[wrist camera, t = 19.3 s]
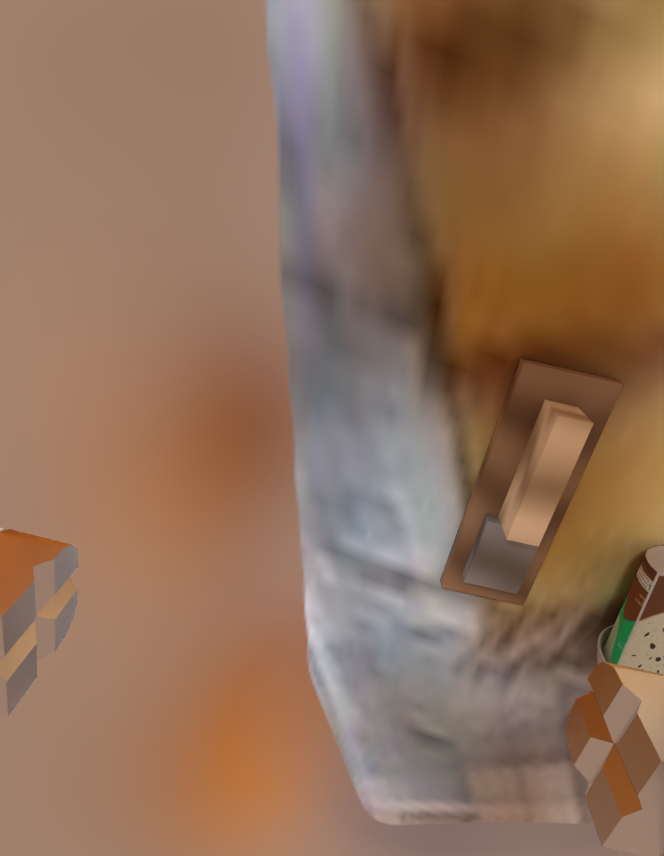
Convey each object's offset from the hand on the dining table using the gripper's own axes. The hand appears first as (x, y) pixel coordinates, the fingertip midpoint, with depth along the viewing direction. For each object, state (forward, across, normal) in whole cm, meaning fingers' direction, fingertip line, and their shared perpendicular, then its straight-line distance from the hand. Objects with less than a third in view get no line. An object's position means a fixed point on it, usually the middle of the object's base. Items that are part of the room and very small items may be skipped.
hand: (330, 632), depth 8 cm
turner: (+30, -15, +12) cm, 36 cm away
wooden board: (+31, -15, +12) cm, 36 cm away
